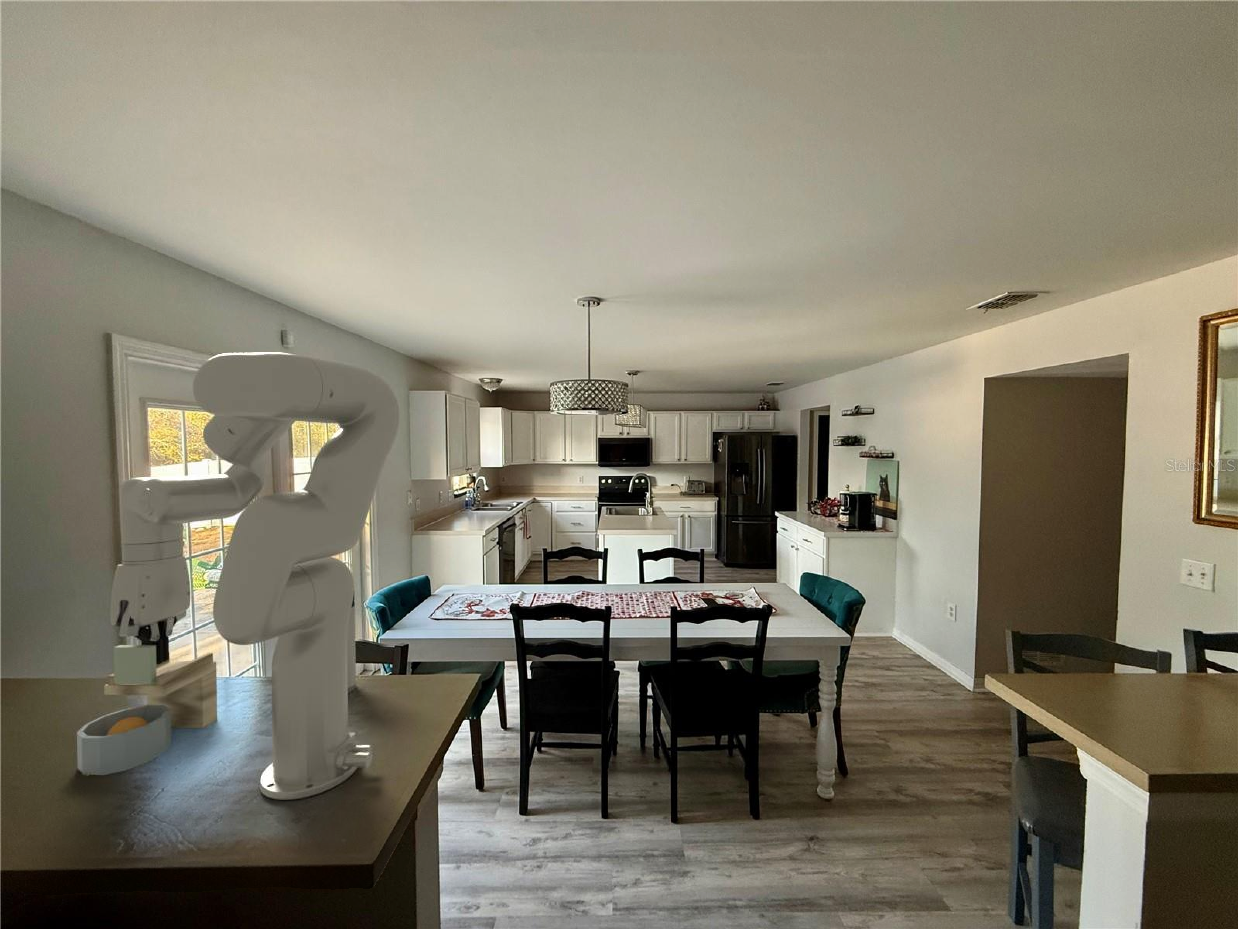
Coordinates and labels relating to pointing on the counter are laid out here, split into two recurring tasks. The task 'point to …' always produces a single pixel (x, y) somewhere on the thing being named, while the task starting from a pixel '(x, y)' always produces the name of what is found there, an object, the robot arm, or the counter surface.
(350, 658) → the travel mug
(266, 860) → the counter surface
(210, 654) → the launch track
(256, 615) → the robot arm
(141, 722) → the ball
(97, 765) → the gray oval basket
